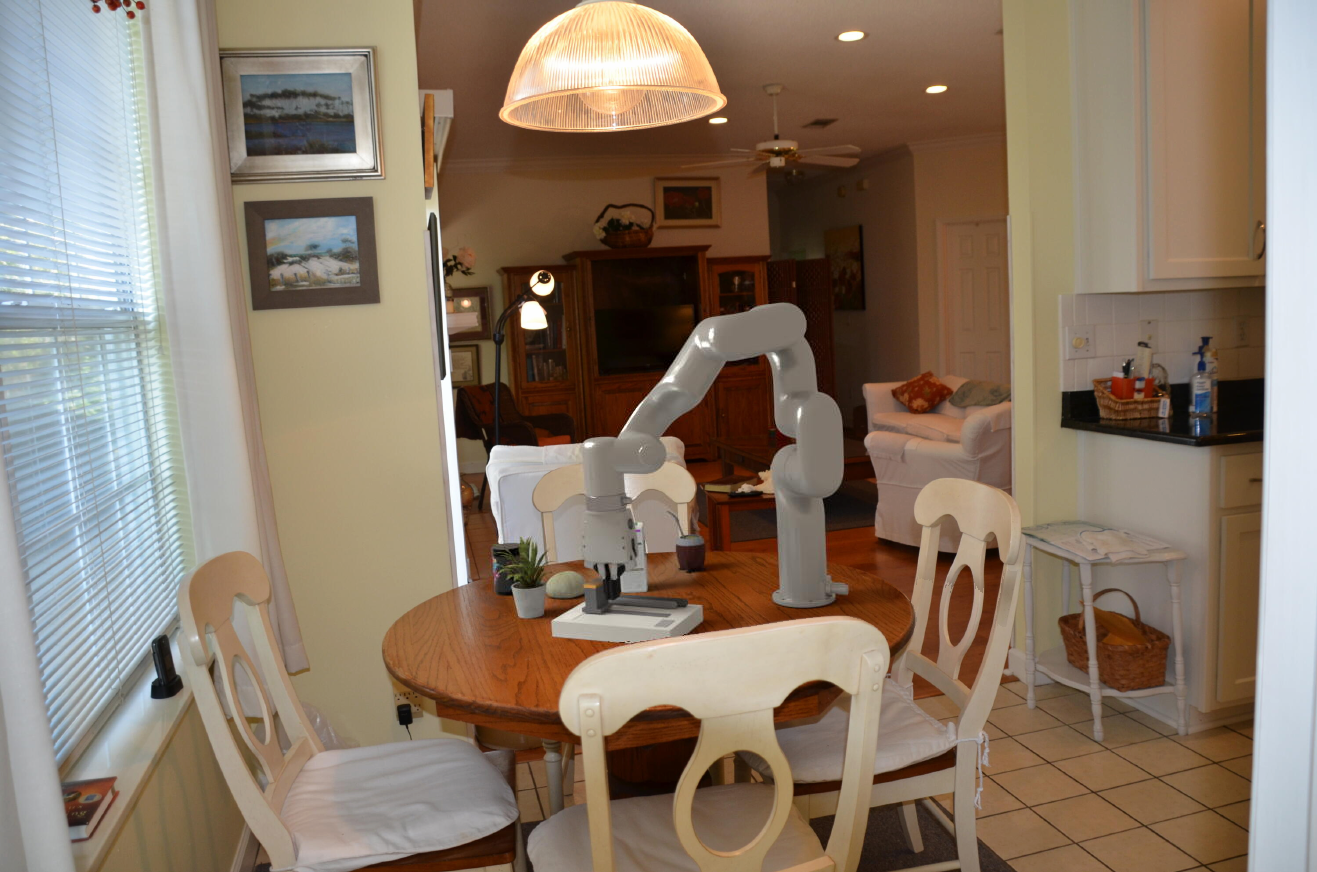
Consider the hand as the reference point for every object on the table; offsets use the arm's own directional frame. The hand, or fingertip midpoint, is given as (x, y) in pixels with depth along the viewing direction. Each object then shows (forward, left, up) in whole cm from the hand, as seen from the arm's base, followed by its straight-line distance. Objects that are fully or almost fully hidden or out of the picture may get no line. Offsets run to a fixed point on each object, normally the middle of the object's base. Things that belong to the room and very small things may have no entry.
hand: (612, 598), depth 177 cm
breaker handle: (+3, 0, -2) cm, 4 cm away
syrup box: (+8, -26, -6) cm, 28 cm away
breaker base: (-3, 0, -6) cm, 6 cm away
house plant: (+22, -4, -6) cm, 23 cm away
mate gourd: (+2, -44, -6) cm, 44 cm away
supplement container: (+35, -18, -6) cm, 40 cm away
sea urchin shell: (+21, -19, -6) cm, 29 cm away
